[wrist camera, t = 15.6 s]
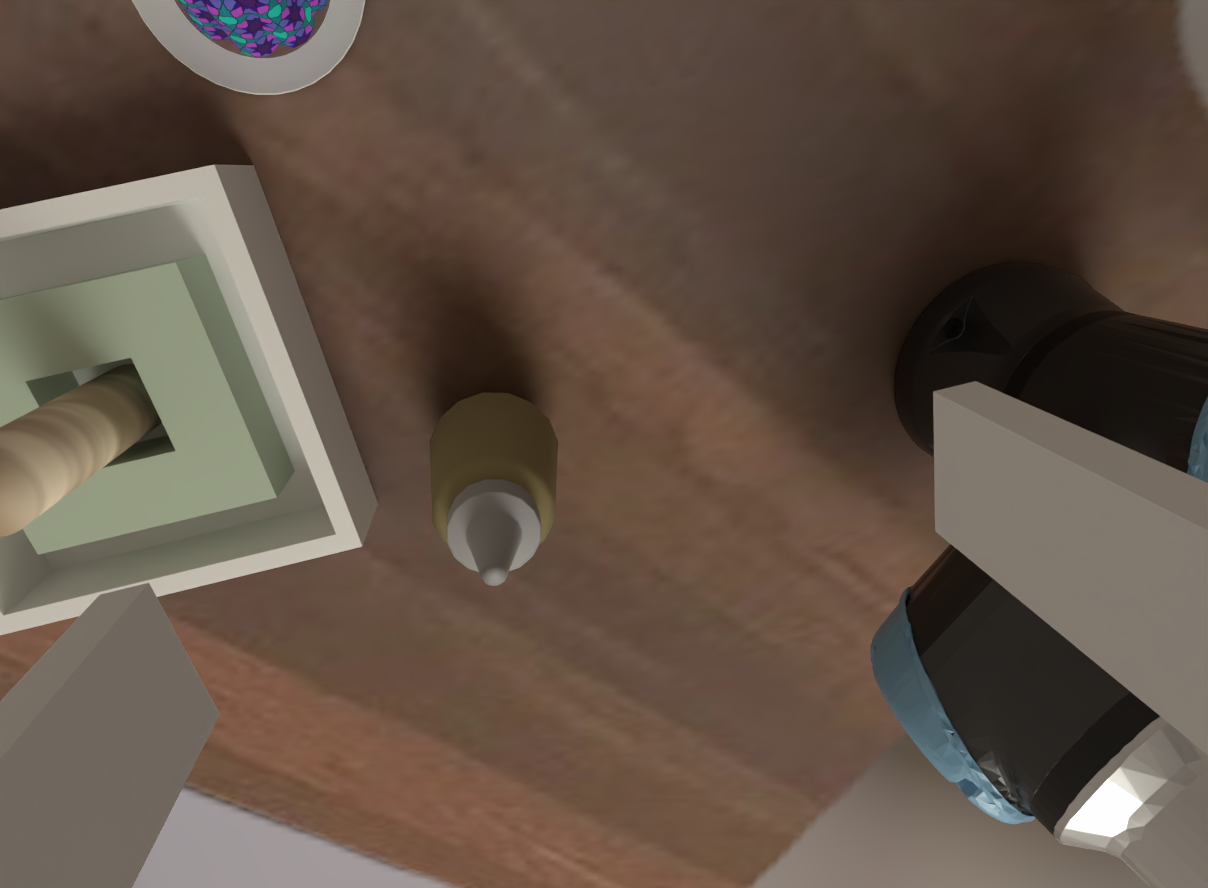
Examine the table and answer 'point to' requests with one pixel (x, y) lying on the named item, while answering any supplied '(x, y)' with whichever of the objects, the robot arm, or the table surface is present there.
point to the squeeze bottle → (493, 482)
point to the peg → (69, 442)
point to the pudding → (255, 39)
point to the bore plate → (174, 383)
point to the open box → (193, 546)
